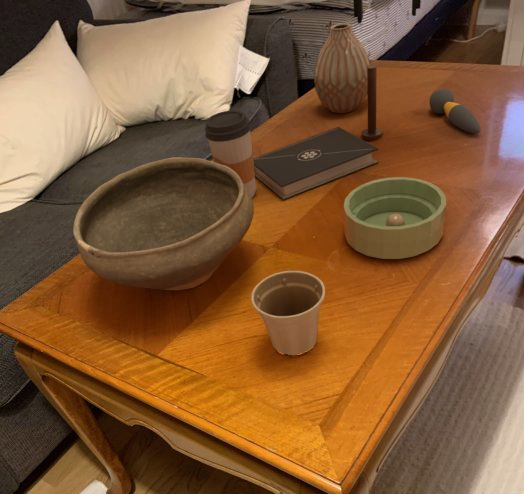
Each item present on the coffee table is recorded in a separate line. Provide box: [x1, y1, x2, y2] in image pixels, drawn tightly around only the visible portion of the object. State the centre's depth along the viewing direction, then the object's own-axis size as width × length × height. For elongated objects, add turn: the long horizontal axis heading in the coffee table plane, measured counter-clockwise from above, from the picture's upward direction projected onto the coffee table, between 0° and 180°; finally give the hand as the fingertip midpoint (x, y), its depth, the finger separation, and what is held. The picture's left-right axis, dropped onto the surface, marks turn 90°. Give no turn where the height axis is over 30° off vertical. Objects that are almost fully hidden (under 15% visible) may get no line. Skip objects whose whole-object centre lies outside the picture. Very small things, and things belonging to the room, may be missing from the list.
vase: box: [313, 22, 372, 114], centre depth 119 cm, size 13×13×18 cm
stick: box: [361, 64, 383, 142], centre depth 107 cm, size 4×4×14 cm
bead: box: [386, 214, 405, 226], centre depth 84 cm, size 3×3×3 cm
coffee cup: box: [204, 109, 257, 198], centre depth 98 cm, size 8×8×15 cm
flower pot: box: [250, 270, 326, 356], centre depth 69 cm, size 9×9×9 cm
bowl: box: [72, 156, 255, 291], centre depth 82 cm, size 28×28×14 cm
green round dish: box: [343, 176, 447, 260], centre depth 84 cm, size 16×16×6 cm
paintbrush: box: [429, 88, 481, 135], centre depth 110 cm, size 20×5×5 cm, turn 20°
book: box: [253, 126, 379, 201], centre depth 105 cm, size 22×15×3 cm
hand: (386, 17), depth 95 cm, fingers open, 9 cm apart
